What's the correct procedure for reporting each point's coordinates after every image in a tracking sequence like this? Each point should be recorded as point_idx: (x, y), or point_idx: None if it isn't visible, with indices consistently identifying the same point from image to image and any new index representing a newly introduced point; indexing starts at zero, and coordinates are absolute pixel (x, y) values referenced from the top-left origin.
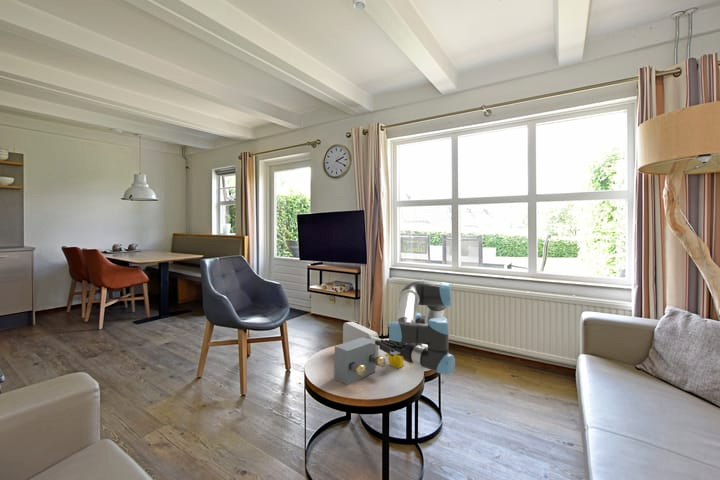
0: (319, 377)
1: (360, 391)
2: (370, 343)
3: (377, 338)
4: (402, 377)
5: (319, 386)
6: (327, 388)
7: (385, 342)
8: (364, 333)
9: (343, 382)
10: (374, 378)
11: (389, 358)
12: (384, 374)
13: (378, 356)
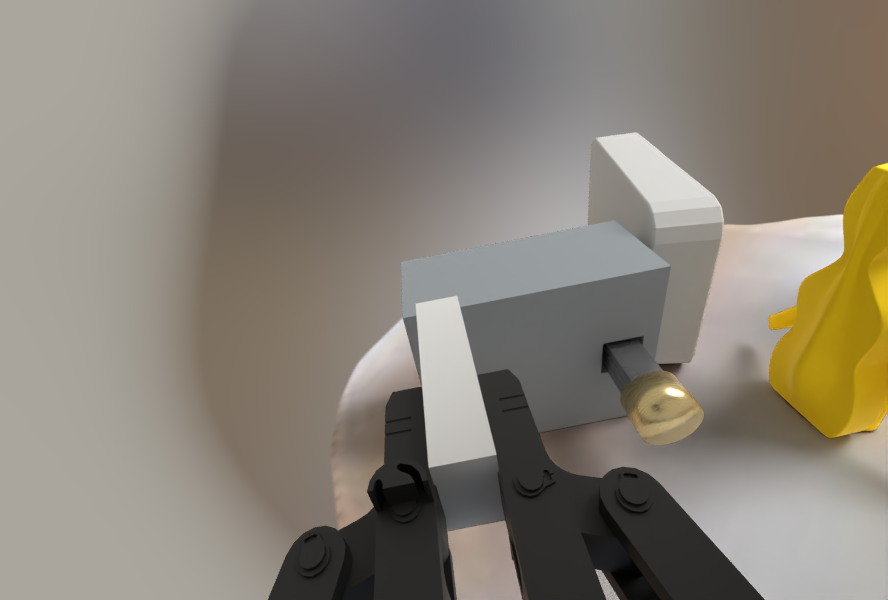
0: (393, 358)
1: (451, 549)
2: (617, 279)
3: (447, 361)
4: (828, 552)
5: (342, 410)
6: (351, 438)
7: (420, 593)
8: (635, 199)
9: None
10: (609, 465)
11: (778, 358)
12: (694, 455)
13: (654, 374)
